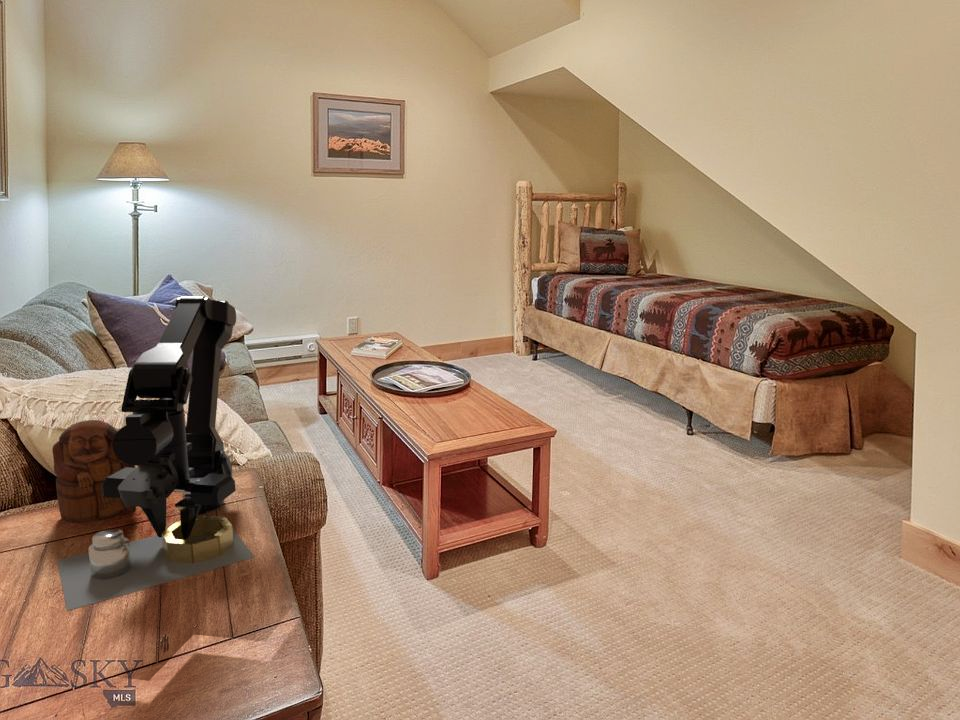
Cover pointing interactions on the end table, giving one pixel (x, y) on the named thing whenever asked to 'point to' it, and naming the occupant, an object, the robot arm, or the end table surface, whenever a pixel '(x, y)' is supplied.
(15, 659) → the end table surface
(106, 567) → the silver calibration weight
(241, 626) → the end table surface
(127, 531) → the end table surface
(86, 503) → the wooden figurine
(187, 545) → the brass ring
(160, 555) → the mat
